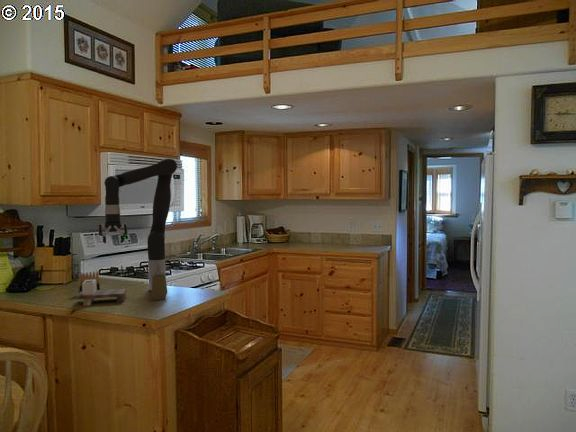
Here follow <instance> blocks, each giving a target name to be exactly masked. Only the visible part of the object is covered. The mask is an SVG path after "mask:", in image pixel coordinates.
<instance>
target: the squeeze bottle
mask: <svg viewBox="0 0 576 432" xmlns="http://www.w3.org/2000/svg"><path fill="white" fill-rule="evenodd" d="M163 274H164V271H161V267H160V264H158V265H157V270H156V271H155V272H154V275H155V276H153V278H152V290H150V291H151V296H152V299H153V300H154V301H163V300H166V297H167V294H168V286H167V278H166V276H167V275H166V276H165V275H163Z"/></svg>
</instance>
